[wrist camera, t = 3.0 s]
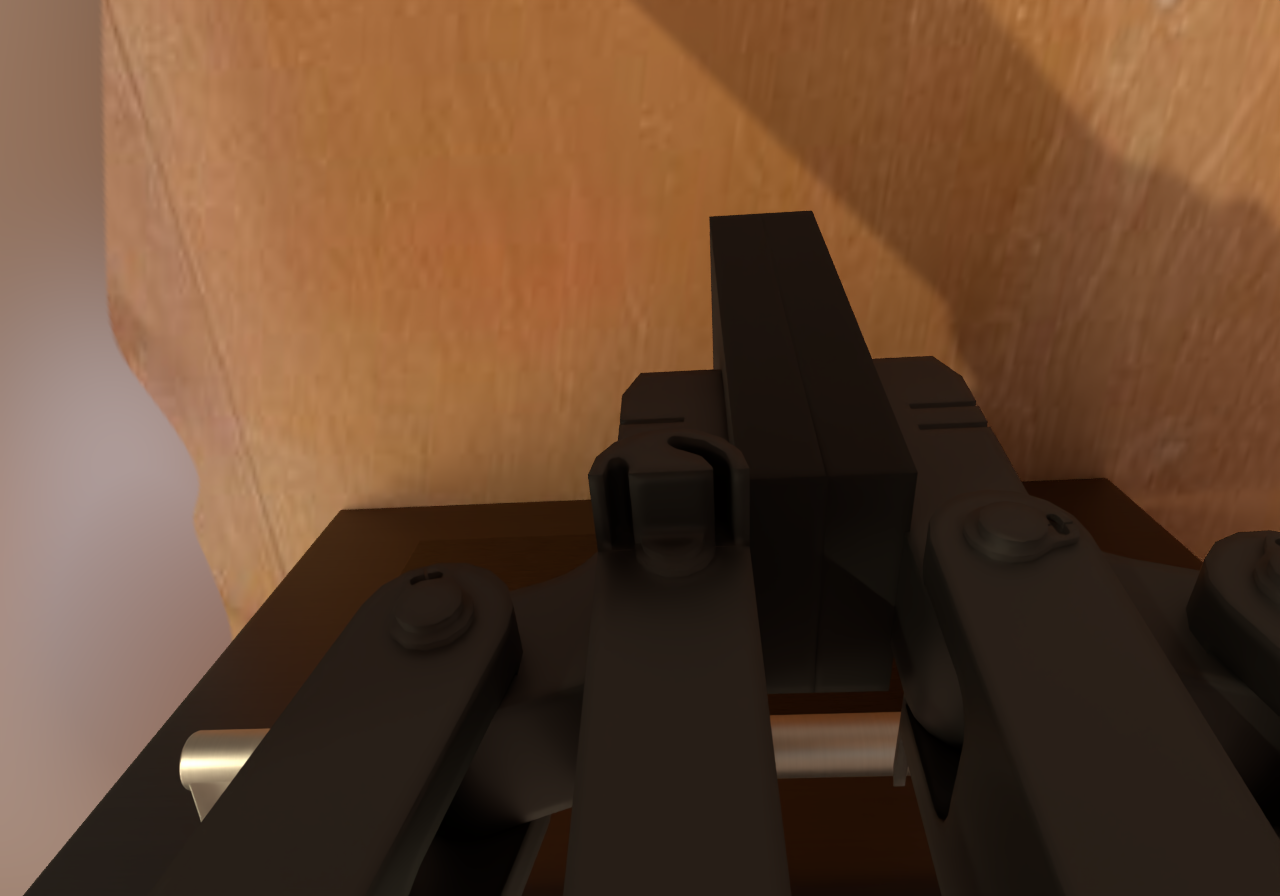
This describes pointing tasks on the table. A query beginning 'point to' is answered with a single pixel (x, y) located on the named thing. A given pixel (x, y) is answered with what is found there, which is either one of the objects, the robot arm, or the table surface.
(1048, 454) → the table surface
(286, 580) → the oven door
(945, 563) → the robot arm
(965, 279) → the table surface
